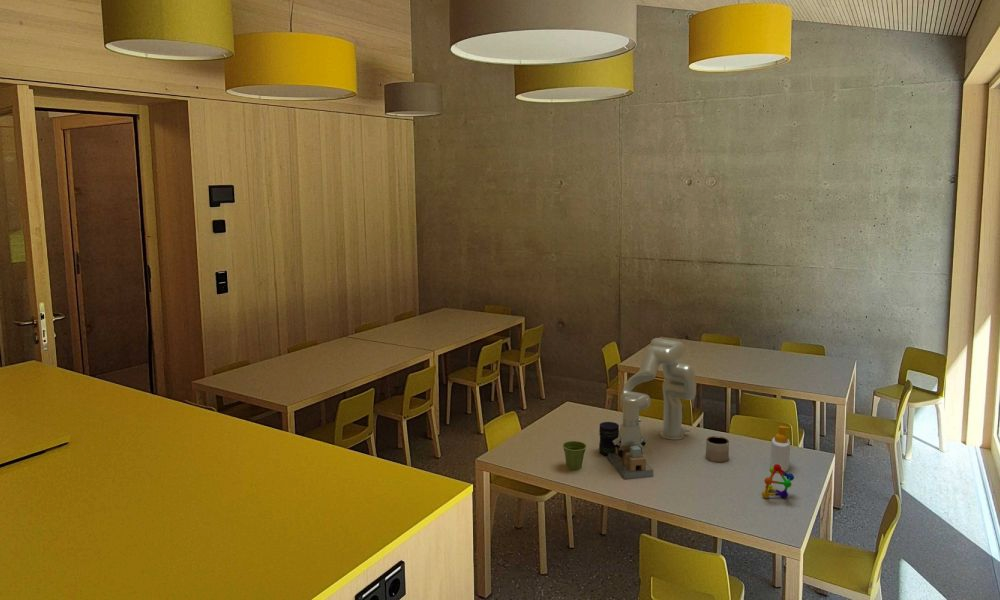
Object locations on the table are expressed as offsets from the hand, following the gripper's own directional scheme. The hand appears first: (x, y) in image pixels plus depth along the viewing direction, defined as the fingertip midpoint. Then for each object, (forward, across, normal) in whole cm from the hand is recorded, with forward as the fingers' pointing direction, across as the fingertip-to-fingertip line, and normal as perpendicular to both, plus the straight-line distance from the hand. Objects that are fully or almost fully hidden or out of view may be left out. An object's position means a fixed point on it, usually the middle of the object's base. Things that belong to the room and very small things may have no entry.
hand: (630, 456), depth 332 cm
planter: (+6, -46, -1) cm, 46 cm away
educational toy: (+6, -52, +42) cm, 67 cm away
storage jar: (+6, +4, -19) cm, 20 cm away
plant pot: (+6, +26, -6) cm, 27 cm away
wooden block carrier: (+3, 0, 0) cm, 3 cm away
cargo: (-3, 0, +7) cm, 7 cm away
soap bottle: (+6, -70, +15) cm, 72 cm away
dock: (+6, 0, 0) cm, 6 cm away
